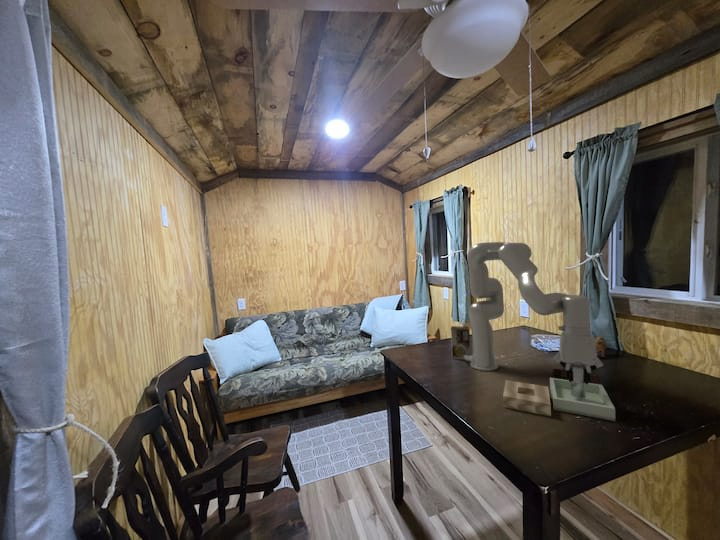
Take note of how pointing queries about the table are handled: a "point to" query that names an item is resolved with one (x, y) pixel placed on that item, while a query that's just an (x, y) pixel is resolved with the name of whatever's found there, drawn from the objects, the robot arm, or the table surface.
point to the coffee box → (460, 341)
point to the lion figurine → (600, 345)
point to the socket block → (527, 397)
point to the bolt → (562, 373)
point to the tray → (582, 400)
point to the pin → (578, 380)
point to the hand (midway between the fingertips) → (577, 380)
